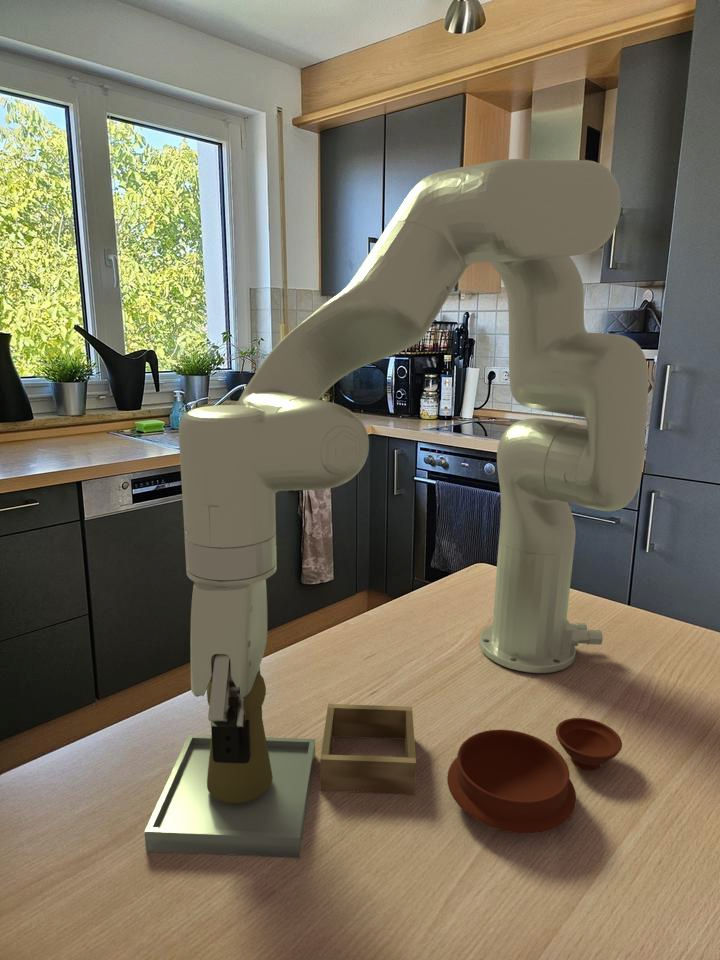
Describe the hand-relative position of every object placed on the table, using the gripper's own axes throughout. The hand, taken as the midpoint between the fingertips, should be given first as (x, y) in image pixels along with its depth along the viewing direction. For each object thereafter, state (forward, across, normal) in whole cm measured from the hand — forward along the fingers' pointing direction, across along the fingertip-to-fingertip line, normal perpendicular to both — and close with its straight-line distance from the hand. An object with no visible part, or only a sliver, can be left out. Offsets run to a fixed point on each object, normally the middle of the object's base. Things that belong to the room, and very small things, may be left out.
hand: (238, 738), depth 60 cm
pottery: (+7, -3, +29) cm, 30 cm away
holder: (+6, -6, +12) cm, 15 cm away
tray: (+6, 0, 0) cm, 6 cm away
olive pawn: (+5, 0, 0) cm, 5 cm away
